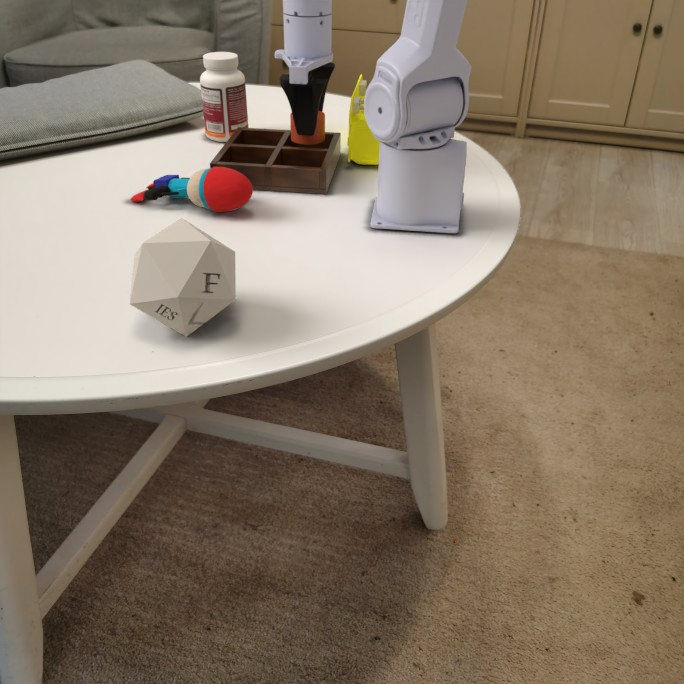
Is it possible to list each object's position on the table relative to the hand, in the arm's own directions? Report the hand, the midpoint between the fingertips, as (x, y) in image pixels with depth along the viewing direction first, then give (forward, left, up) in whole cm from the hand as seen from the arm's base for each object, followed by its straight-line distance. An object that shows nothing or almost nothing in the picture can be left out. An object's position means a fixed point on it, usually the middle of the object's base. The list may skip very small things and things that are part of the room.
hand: (308, 128), depth 91 cm
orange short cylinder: (0, 0, -1) cm, 1 cm away
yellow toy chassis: (-8, -7, -5) cm, 11 cm away
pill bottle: (+13, -9, -5) cm, 17 cm away
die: (+4, +39, -5) cm, 40 cm away
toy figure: (+10, +15, -5) cm, 19 cm away
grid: (+3, +3, -4) cm, 6 cm away
